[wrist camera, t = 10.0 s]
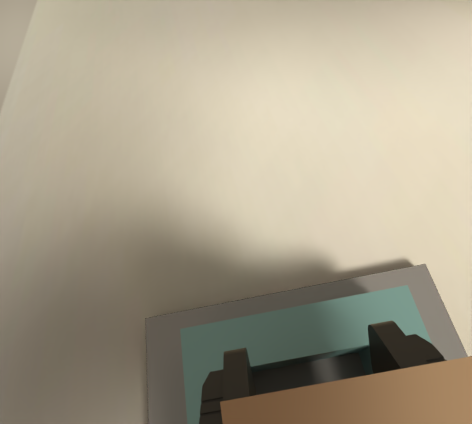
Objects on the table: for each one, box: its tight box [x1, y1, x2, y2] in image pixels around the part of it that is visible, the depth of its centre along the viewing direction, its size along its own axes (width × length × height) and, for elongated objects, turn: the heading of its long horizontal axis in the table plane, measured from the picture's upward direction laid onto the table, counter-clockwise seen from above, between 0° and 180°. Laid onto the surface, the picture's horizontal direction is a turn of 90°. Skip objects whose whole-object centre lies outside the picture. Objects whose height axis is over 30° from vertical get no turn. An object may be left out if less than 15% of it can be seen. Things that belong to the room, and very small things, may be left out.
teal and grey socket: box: [145, 264, 468, 424], centre depth 15 cm, size 16×12×5 cm
